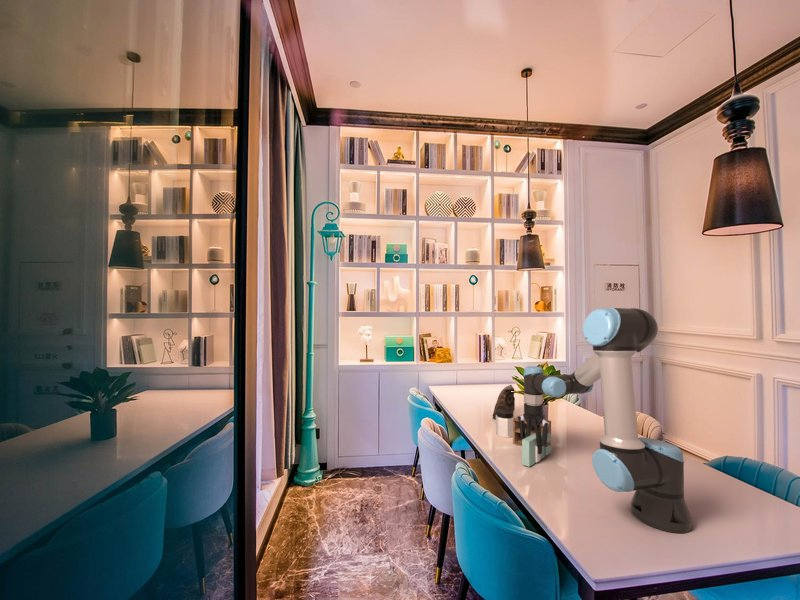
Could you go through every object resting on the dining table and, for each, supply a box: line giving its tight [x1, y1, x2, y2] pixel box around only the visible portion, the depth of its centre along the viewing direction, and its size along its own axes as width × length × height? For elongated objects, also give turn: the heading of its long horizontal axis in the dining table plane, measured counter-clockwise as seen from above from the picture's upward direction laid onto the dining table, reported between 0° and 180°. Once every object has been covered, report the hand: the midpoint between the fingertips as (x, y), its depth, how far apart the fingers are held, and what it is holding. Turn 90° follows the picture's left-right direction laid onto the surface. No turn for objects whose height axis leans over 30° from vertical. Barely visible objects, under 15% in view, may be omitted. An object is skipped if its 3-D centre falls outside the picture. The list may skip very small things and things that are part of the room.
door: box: [521, 431, 552, 468], centre depth 148 cm, size 19×5×10 cm, turn 134°
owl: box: [492, 384, 516, 421], centre depth 202 cm, size 13×13×20 cm
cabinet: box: [512, 414, 552, 447], centre depth 165 cm, size 10×14×12 cm
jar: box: [495, 409, 514, 438], centre depth 179 cm, size 9×8×12 cm
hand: (533, 459), depth 146 cm, fingers closed on door, 3 cm apart
